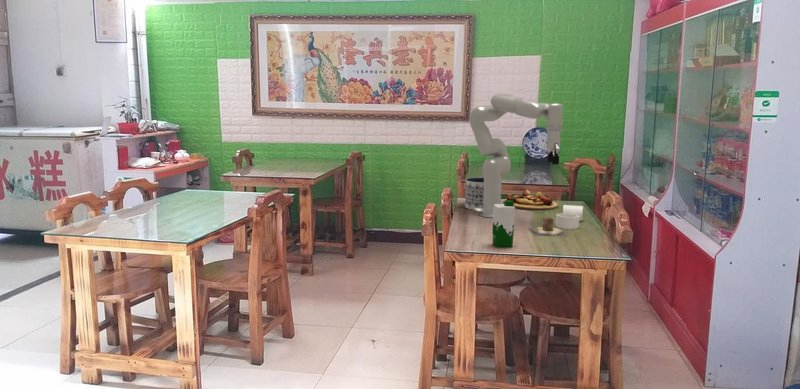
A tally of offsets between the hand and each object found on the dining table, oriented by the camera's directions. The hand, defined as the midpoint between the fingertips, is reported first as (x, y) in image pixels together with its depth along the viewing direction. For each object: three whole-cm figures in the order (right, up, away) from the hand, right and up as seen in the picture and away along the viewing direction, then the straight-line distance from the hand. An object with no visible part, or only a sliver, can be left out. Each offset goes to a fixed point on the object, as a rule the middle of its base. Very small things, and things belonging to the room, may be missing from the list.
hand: (553, 163), depth 313 cm
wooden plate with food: (+1, -23, +62) cm, 66 cm away
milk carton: (-31, -38, -34) cm, 60 cm away
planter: (-30, -24, +52) cm, 64 cm away
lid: (-5, -34, -9) cm, 35 cm away
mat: (-5, -34, -9) cm, 36 cm away
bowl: (+8, -32, +4) cm, 33 cm away
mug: (+16, -29, +23) cm, 40 cm away
